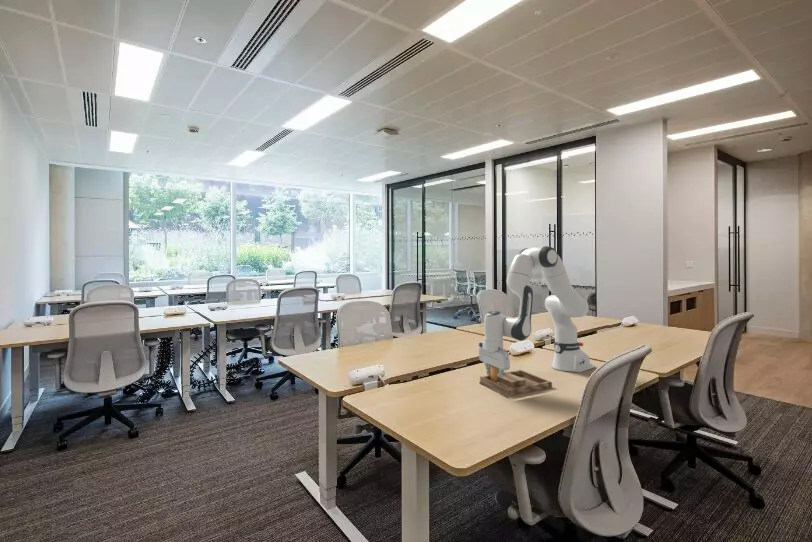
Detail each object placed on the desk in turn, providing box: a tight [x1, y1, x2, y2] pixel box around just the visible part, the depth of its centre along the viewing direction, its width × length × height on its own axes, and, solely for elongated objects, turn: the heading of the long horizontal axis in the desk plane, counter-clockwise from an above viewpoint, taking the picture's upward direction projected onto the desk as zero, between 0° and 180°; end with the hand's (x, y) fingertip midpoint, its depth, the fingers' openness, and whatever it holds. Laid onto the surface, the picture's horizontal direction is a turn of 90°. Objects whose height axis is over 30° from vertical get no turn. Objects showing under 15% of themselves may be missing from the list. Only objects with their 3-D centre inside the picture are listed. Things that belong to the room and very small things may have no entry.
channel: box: [478, 369, 553, 399], centre depth 187 cm, size 25×22×3 cm
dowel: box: [491, 366, 497, 383], centre depth 190 cm, size 3×3×8 cm
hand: (494, 374), depth 190 cm, fingers open, 8 cm apart
